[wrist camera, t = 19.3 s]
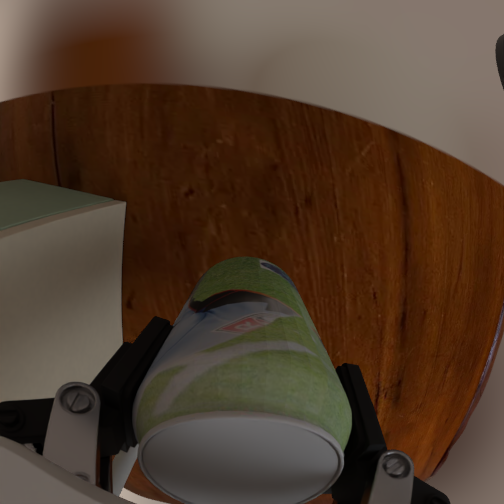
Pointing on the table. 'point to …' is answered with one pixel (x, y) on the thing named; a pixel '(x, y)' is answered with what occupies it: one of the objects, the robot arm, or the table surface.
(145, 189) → the table surface
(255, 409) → the beverage can
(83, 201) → the cupboard
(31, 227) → the door
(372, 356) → the table surface
